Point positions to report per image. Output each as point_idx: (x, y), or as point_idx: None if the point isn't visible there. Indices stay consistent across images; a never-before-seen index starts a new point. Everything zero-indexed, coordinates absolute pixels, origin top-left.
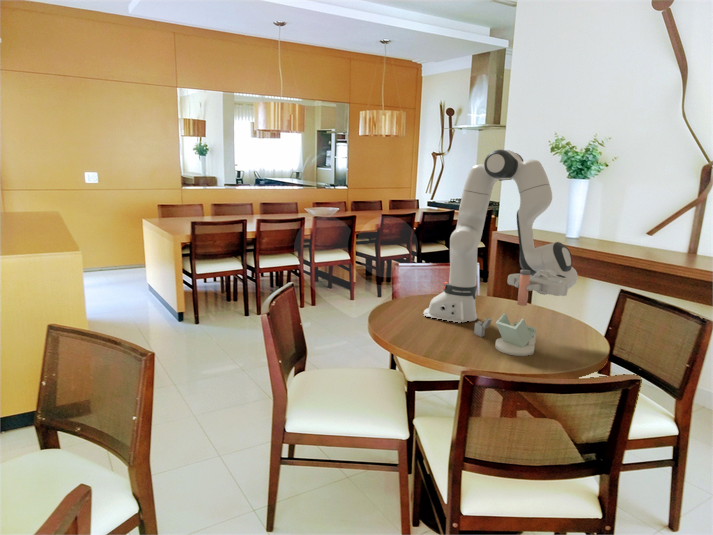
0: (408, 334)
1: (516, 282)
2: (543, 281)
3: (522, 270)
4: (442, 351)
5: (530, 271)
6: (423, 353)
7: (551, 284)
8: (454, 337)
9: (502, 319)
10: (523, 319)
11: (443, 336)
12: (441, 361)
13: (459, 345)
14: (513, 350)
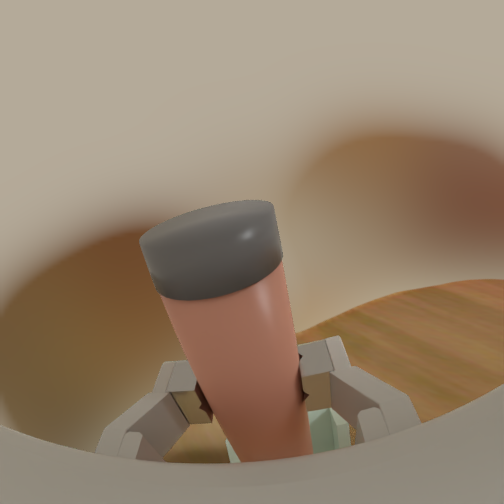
0: (473, 315)
1: (329, 339)
2: (63, 493)
3: (231, 207)
4: (367, 341)
5: (142, 249)
6: (366, 313)
7: (4, 429)
8: (454, 394)
9: (333, 423)
10: (227, 439)
11: (463, 372)
12: (319, 324)
13: (394, 385)
14: None
